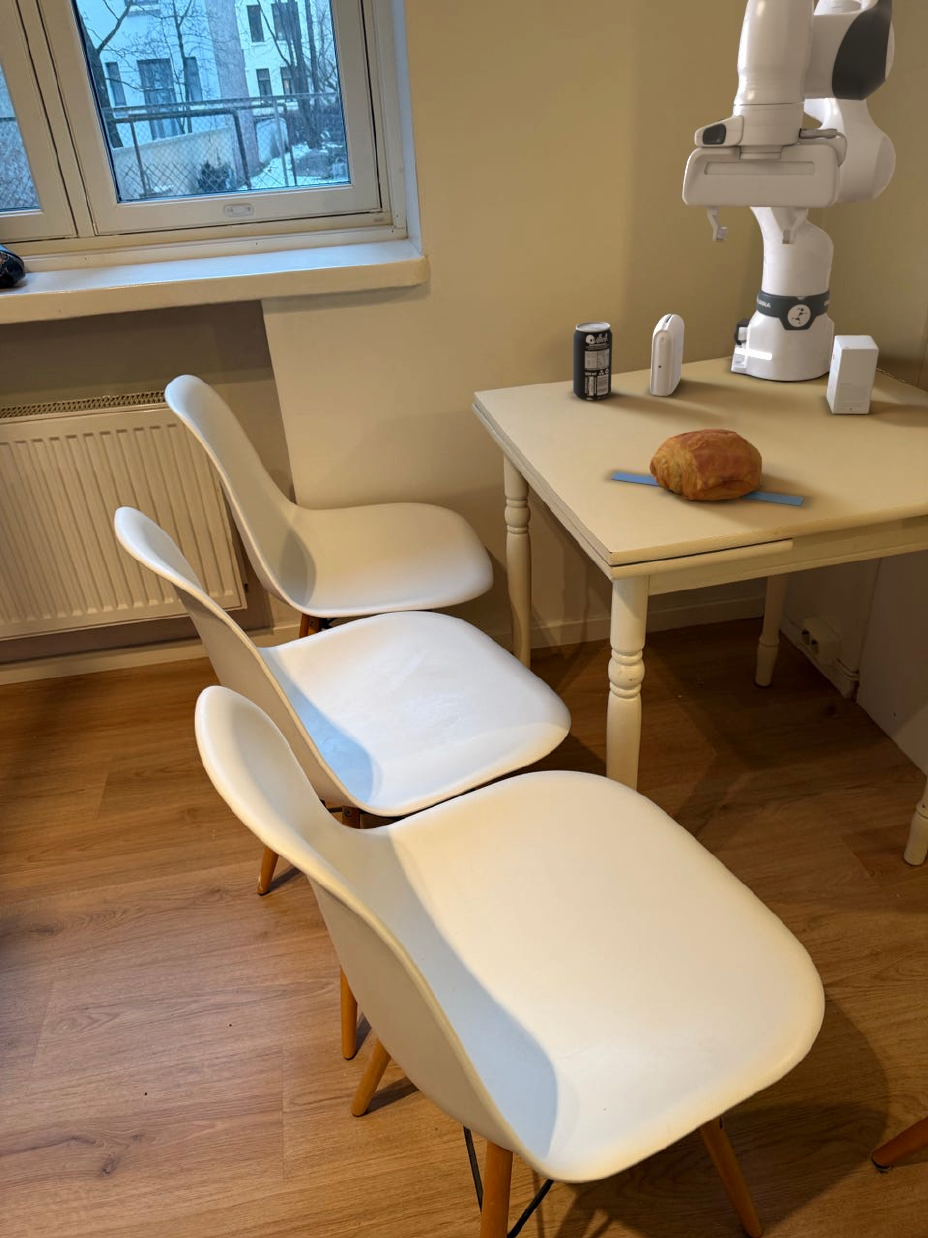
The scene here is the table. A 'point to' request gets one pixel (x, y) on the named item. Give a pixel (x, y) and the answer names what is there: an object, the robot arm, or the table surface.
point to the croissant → (708, 465)
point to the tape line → (750, 495)
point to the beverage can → (592, 360)
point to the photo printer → (667, 355)
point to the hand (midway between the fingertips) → (753, 242)
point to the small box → (852, 374)
